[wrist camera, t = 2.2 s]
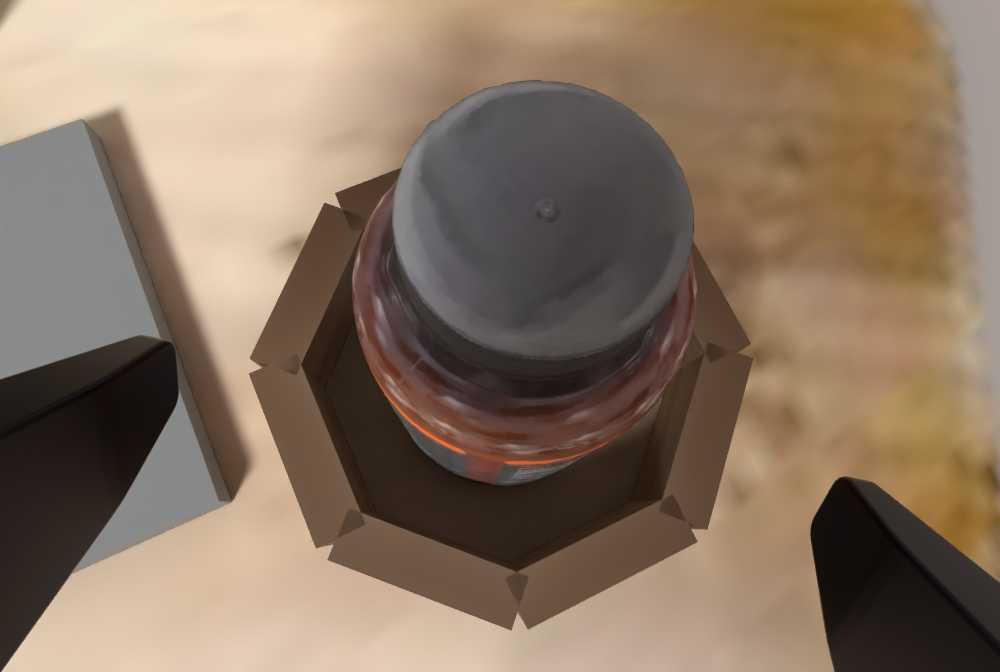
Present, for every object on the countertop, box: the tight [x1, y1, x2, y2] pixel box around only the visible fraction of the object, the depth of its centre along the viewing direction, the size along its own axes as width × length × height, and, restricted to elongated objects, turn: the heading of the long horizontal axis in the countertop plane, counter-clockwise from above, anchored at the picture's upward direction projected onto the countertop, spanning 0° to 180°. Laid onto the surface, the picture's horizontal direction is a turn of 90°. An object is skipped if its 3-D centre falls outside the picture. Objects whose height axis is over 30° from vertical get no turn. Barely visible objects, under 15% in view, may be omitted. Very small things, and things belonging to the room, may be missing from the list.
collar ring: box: [249, 168, 753, 630], centre depth 18 cm, size 12×12×3 cm
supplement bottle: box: [352, 80, 697, 486], centre depth 14 cm, size 6×6×11 cm
